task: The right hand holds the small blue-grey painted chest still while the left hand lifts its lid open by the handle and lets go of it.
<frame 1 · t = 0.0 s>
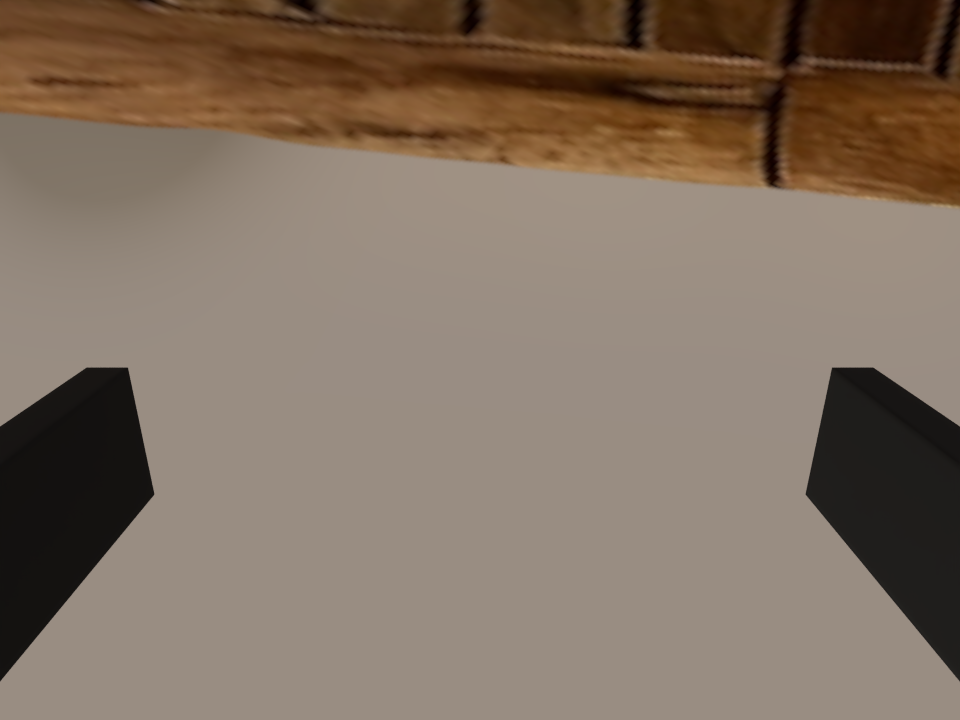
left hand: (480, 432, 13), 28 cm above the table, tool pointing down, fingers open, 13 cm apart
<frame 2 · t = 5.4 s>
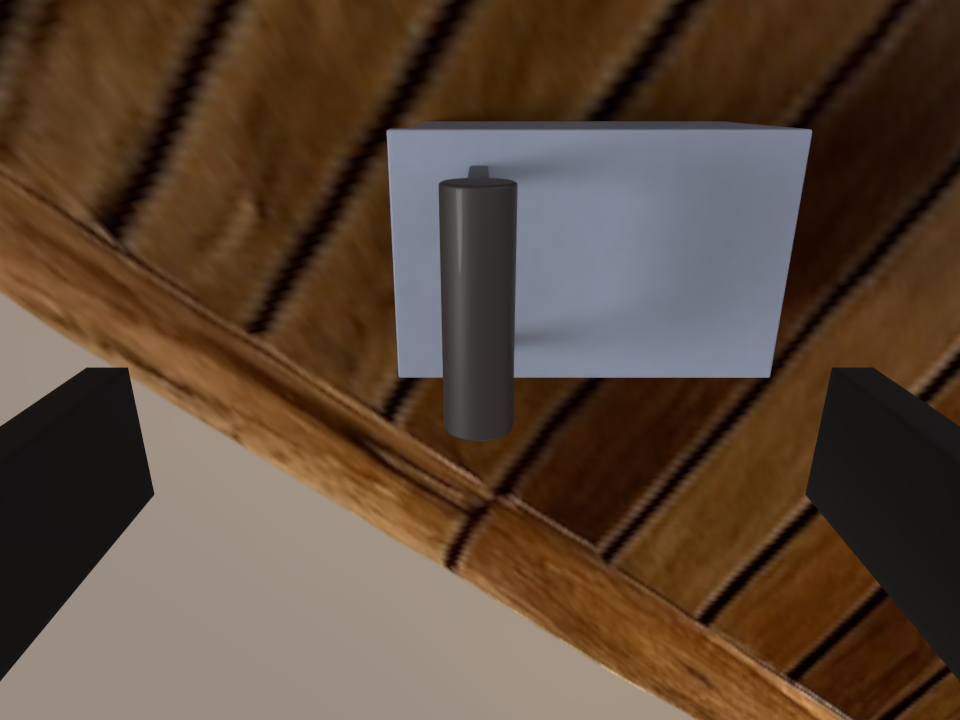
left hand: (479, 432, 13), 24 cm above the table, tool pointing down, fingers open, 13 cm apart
chest: (568, 220, 35), on the table
lid: (606, 284, 22), point 13 cm above the table, hinge at 0.0°
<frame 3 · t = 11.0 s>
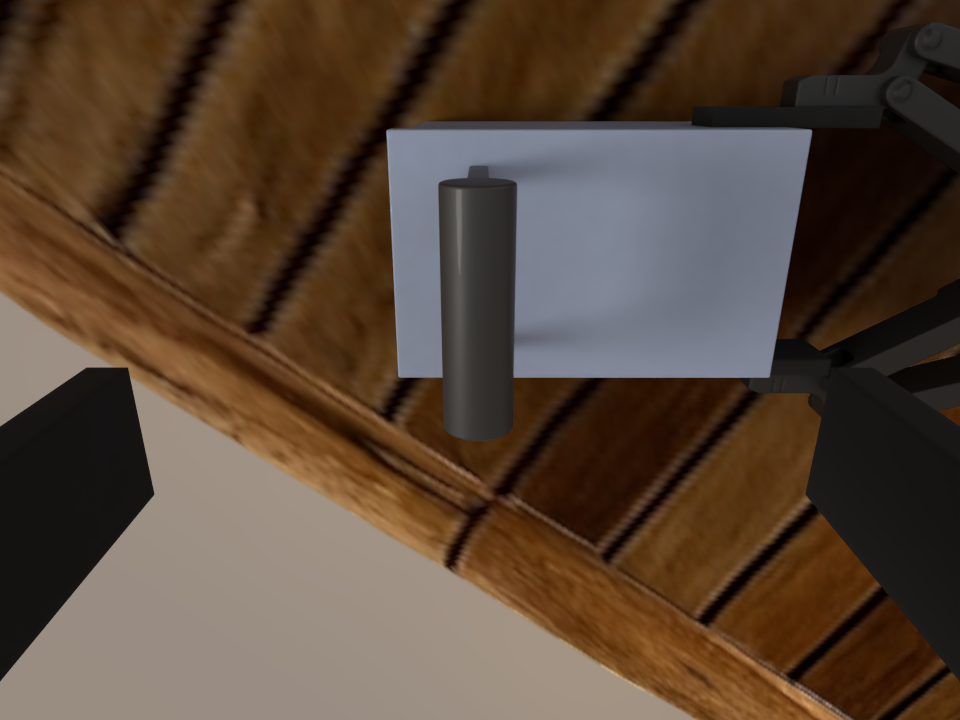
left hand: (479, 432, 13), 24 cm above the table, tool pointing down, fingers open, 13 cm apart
chest: (568, 220, 35), on the table, touching right hand
lid: (606, 285, 22), point 13 cm above the table, hinge at 0.0°
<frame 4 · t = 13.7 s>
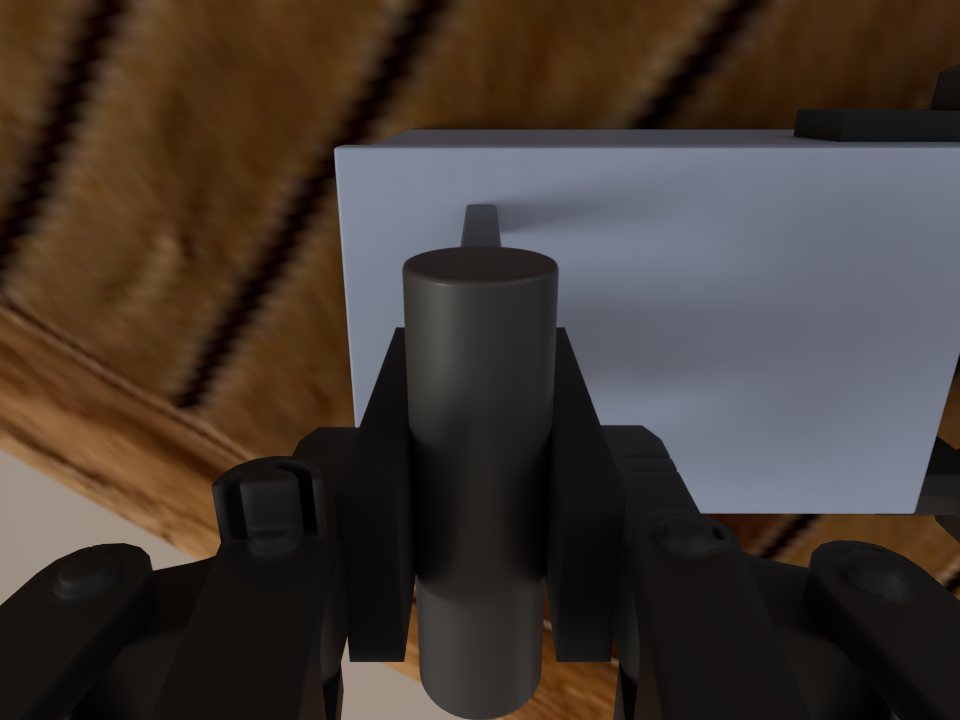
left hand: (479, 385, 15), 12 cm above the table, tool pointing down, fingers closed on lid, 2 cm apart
chest: (602, 262, 26), on the table, touching right hand
lid: (694, 407, 14), point 13 cm above the table, hinge at 0.0°, touching left hand
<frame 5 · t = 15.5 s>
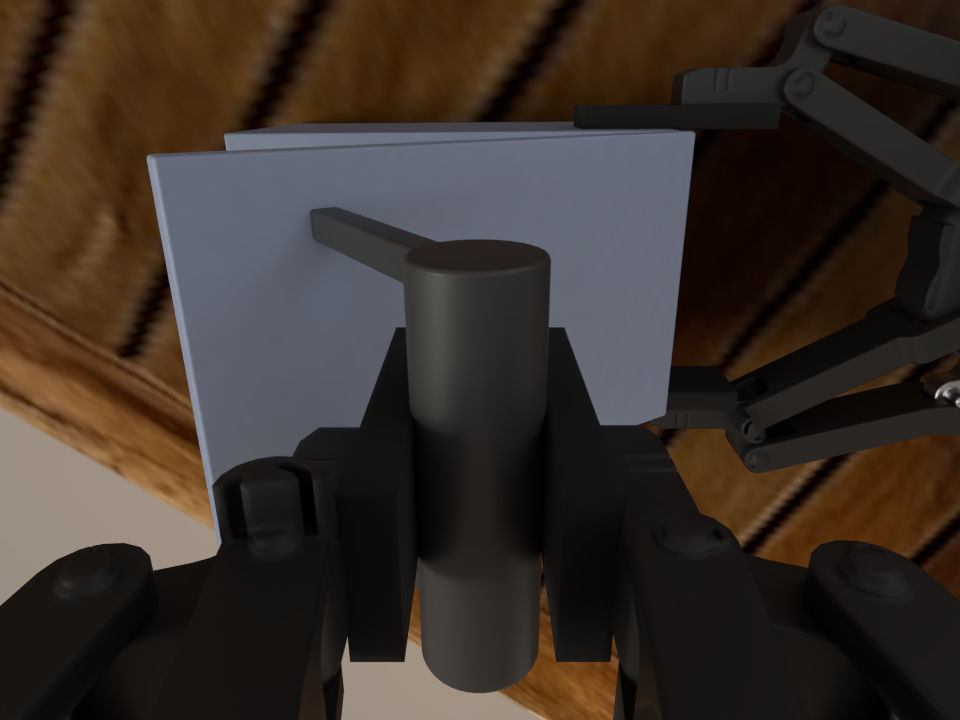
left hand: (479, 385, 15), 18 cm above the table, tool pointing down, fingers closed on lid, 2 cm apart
chest: (463, 231, 31), on the table, touching right hand
lid: (563, 363, 16), point 17 cm above the table, hinge at 33.1°, touching left hand
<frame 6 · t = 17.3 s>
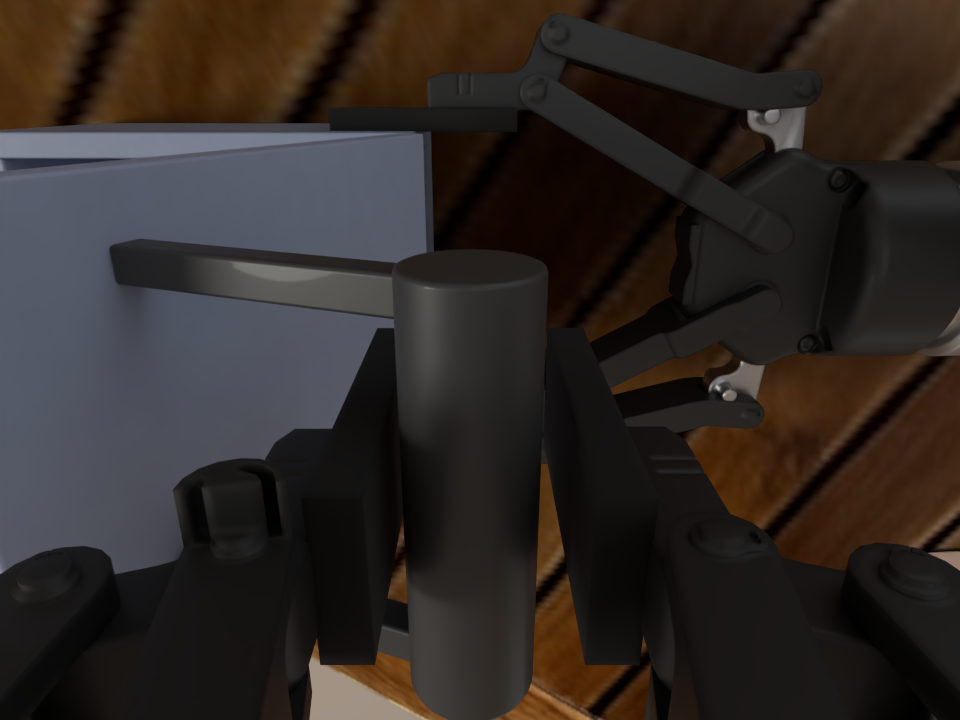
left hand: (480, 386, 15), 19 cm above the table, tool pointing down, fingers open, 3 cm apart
right hand: (347, 259, 26), fingers closed on chest, 10 cm apart
chest: (280, 230, 32), on the table, touching right hand
lid: (416, 371, 15), point 18 cm above the table, hinge at 68.7°
when the right hand's fingers open (6 cm above the table, at t = 21.1 s): chest stays where it is, on the table.
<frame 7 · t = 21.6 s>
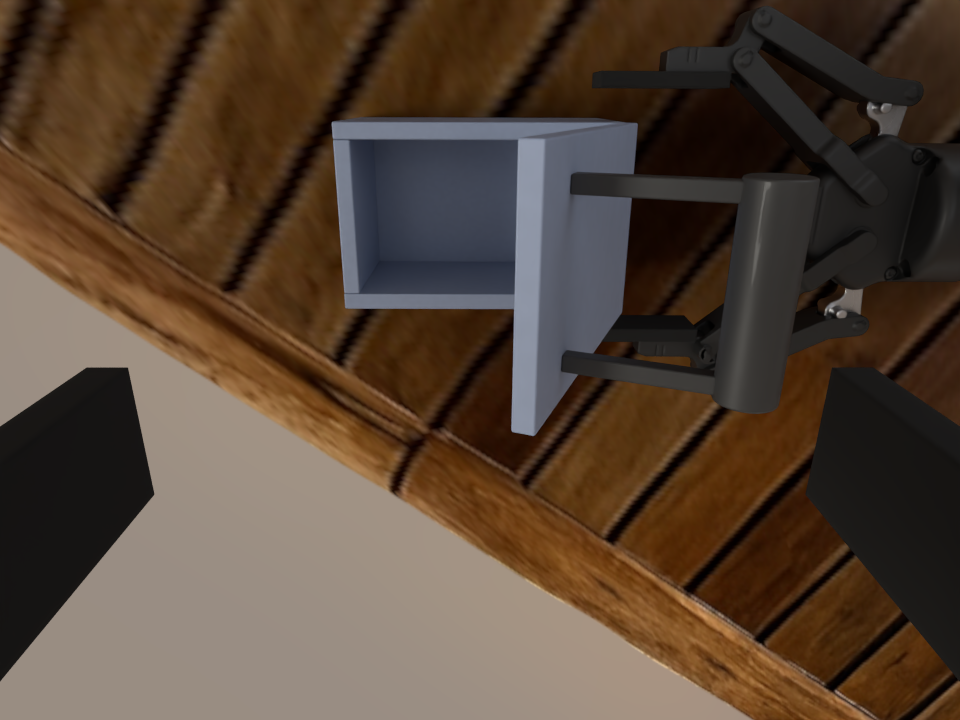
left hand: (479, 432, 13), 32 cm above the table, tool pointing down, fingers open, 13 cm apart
right hand: (587, 212, 37), fingers open, 13 cm apart
chest: (479, 197, 43), on the table
lid: (678, 259, 26), point 18 cm above the table, hinge at 67.8°
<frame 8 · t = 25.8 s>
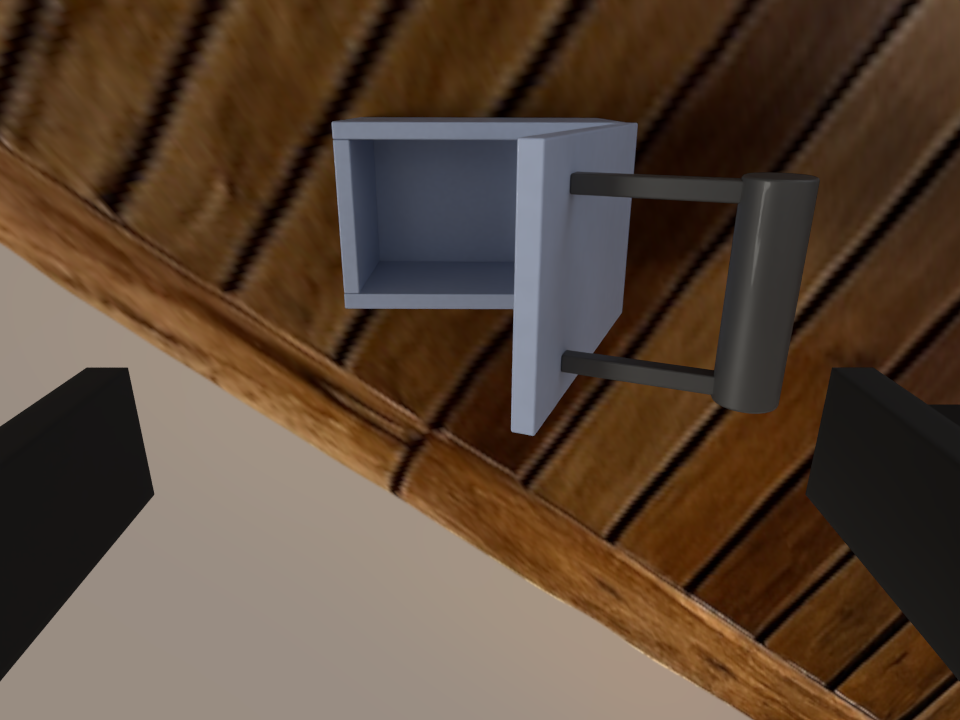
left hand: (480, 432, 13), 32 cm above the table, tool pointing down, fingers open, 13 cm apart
chest: (479, 197, 43), on the table
lid: (678, 259, 26), point 18 cm above the table, hinge at 67.8°
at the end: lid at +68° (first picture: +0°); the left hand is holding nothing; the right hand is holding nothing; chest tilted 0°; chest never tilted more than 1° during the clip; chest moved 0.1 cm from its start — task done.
